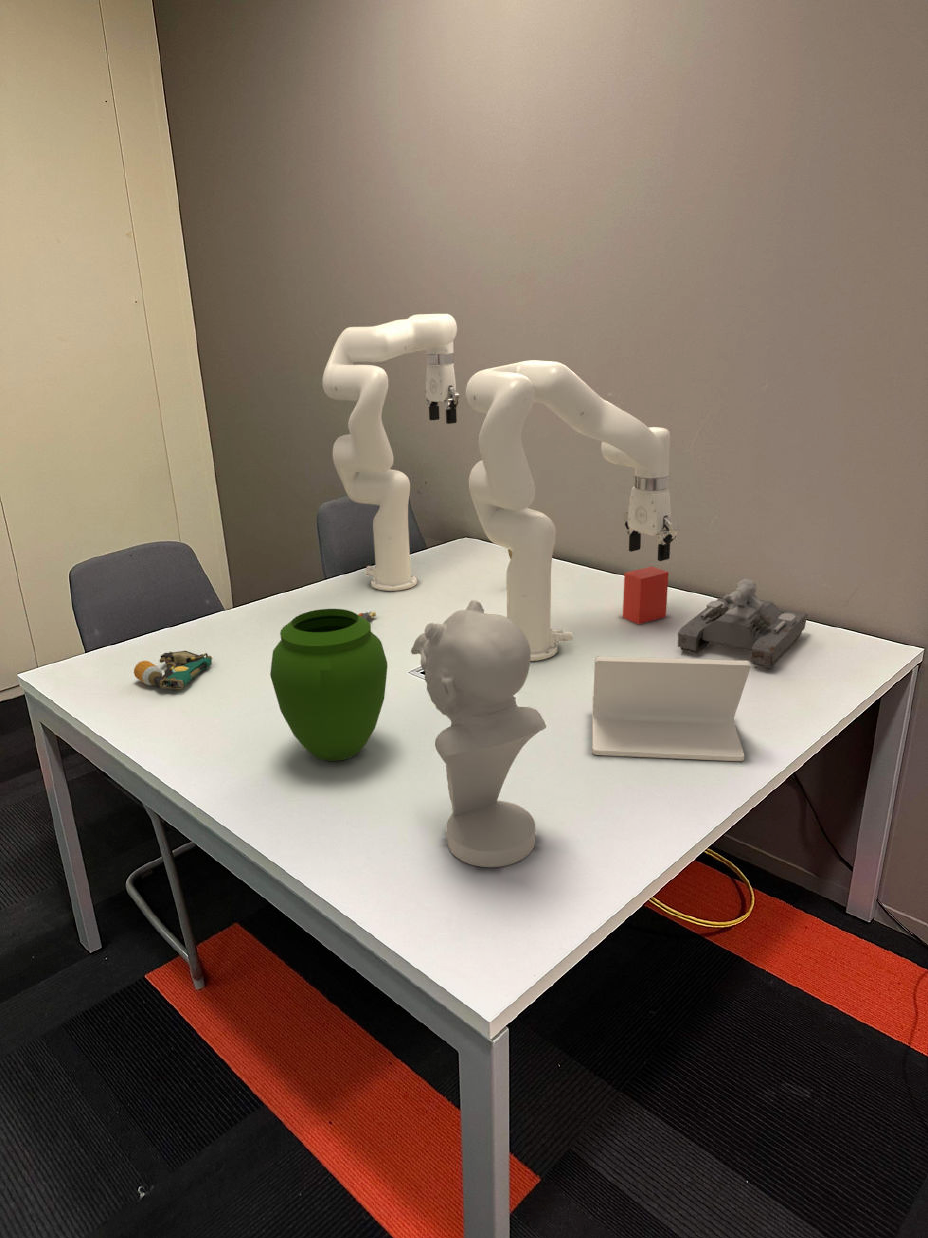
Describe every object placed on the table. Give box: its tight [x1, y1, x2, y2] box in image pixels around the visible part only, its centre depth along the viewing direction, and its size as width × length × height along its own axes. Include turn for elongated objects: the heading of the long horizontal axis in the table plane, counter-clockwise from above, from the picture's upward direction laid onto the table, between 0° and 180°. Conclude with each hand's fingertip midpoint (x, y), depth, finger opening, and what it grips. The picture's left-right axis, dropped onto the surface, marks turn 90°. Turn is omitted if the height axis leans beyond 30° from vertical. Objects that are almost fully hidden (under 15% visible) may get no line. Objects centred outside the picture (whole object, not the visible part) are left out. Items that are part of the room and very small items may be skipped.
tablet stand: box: [591, 656, 752, 762], centre depth 148 cm, size 18×25×17 cm
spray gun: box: [133, 650, 213, 690], centre depth 180 cm, size 4×17×15 cm
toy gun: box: [357, 611, 377, 622], centre depth 203 cm, size 3×19×10 cm
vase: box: [269, 608, 388, 762], centre depth 144 cm, size 20×20×24 cm
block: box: [622, 566, 669, 625], centre depth 204 cm, size 6×9×11 cm, turn 122°
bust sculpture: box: [410, 599, 547, 868], centre depth 121 cm, size 16×24×35 cm
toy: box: [677, 578, 808, 669], centre depth 186 cm, size 25×20×15 cm
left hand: (442, 421), depth 248 cm, fingers open, 9 cm apart
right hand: (648, 555), depth 201 cm, fingers open, 9 cm apart
